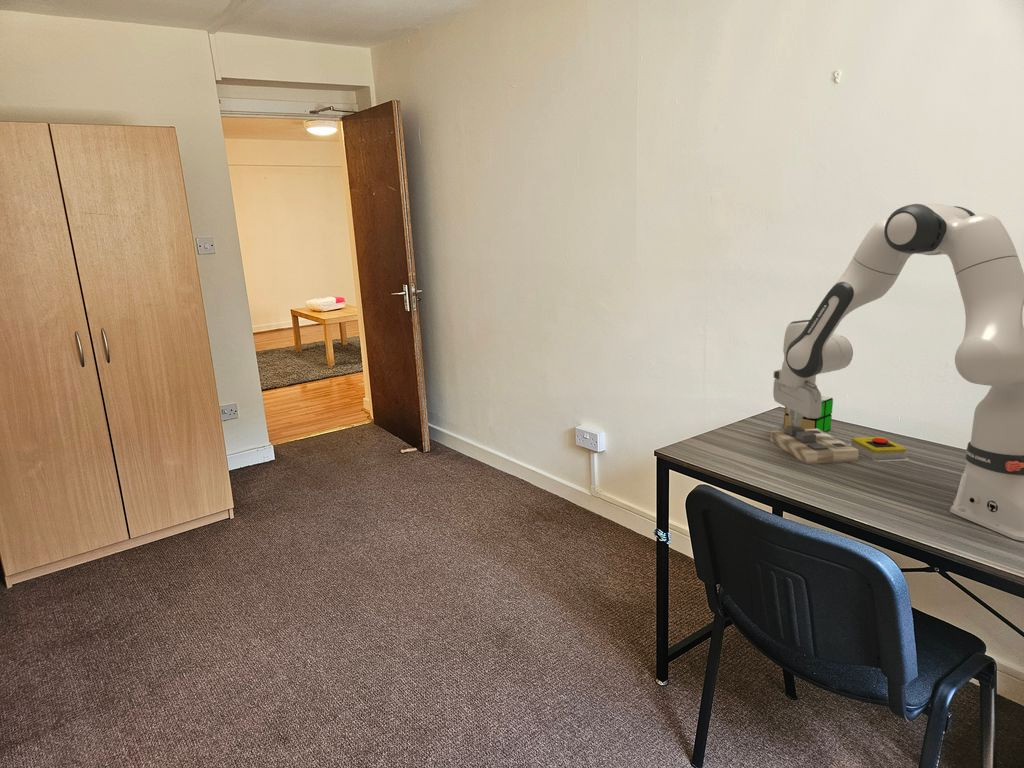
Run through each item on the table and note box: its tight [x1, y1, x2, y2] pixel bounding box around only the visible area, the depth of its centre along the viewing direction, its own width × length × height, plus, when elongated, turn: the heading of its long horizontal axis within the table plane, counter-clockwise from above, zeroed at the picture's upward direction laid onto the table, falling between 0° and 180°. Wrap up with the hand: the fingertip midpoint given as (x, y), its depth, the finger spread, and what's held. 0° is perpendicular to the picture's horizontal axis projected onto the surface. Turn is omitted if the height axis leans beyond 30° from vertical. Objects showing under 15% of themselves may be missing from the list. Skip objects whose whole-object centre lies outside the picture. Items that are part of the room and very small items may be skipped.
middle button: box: [796, 431, 816, 443], centre depth 183 cm, size 4×4×3 cm
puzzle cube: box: [783, 395, 834, 433], centre depth 202 cm, size 10×10×10 cm
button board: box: [770, 429, 860, 465], centre depth 183 cm, size 20×14×3 cm
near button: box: [807, 443, 828, 450], centre depth 177 cm, size 4×4×3 cm
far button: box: [785, 426, 804, 437], centre depth 189 cm, size 4×4×3 cm
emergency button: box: [847, 436, 910, 463], centre depth 181 cm, size 9×4×15 cm
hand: (794, 425), depth 188 cm, fingers closed
